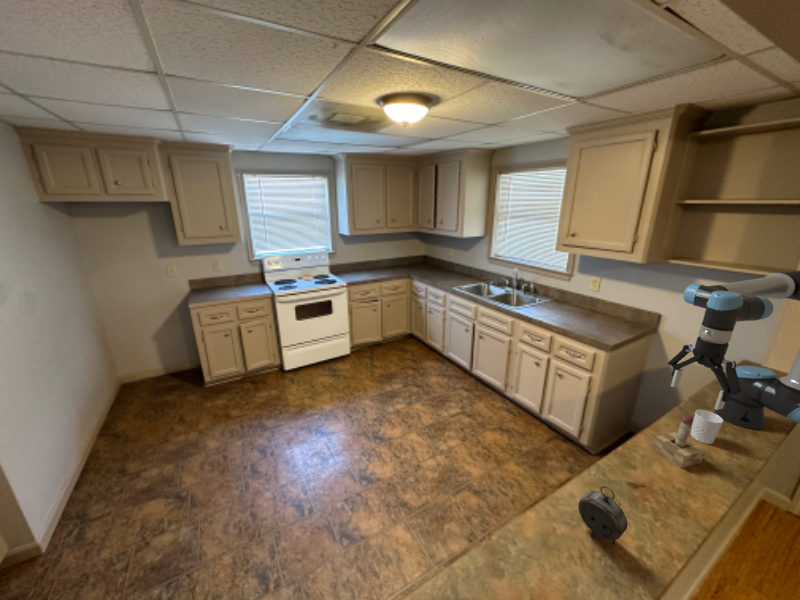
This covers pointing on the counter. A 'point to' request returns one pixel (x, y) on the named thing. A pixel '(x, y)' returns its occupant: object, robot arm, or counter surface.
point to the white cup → (706, 426)
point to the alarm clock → (602, 515)
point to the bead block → (678, 450)
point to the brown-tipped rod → (683, 431)
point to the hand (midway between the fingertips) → (695, 396)
